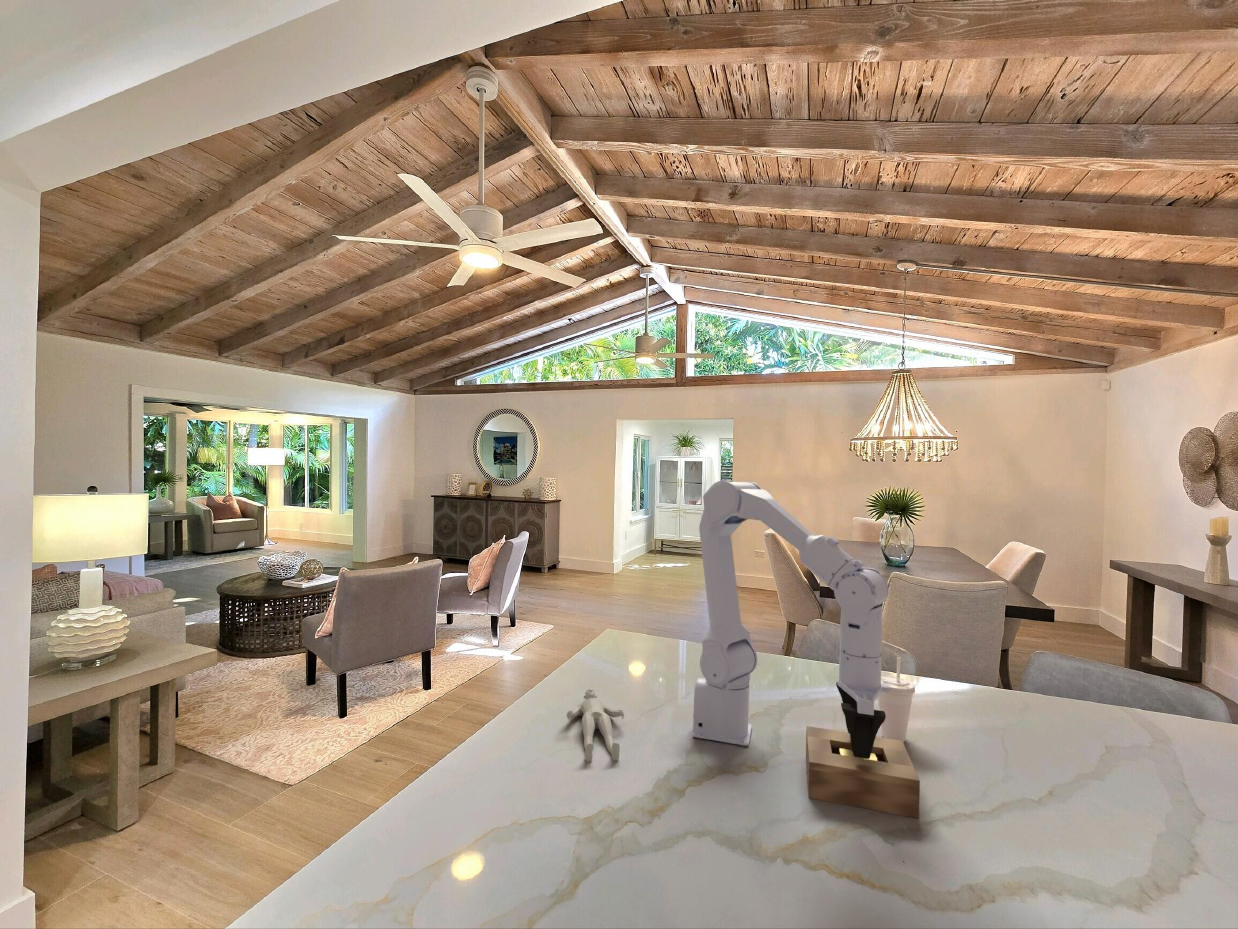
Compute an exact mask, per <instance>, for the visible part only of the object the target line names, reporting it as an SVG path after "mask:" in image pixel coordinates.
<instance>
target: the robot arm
mask: <svg viewBox="0 0 1238 929" xmlns="http://www.w3.org/2000/svg"><path fill="white" fill-rule="evenodd" d="M702 499H703V511H702V515H701V520H700V521H699V526H698V527H699V528H698V529H699V530H698V531H699V539H700V546H701V555H702V565H703V566H702V567H703V573H704V582H705V592H706V593H705V594H706V602H707V611H708V620H709V628H708V629H707V632H706V633H705V634H704V637H703V638H702V640H701V645H702V652H701V655H700V659H699V667H700V671H701V674H702V676H703V677H697V678H696V680H695V685H694V696H693V714H692V715H693V716H692V717H693V718H692V737H693V738H697V739H704V740H708V741H715V742H722V743H727V744H733V745H739V746H745V747H748V746H749V745H750V739H751V734H752V729H753V728H752V727H753V726H752V724H751V723H749V712H750V711H749V710H750V708H749V707H750V680H751V673H753V672H754V671H755V670H756V668H757V665H758V660H759V659H758V653H757V651H756V648H755V647H754V645H753V643H752V641H751V634H750V632H749V630H747V628H746V627H745V626H744V625H743V624H742V620H741V619H742V618H741V611H740V610H741V608H740V602H739V594H738V585H737V578H736V568H735V560H734V551H733V541H732V535H733V534H734V533H735V531H736V530H737V529H738V527H740V526H741V524H742V523H744V522H745V521H747V520H754V521H761V523H763V524H764V525H765V526H767V527H768V528H769V529H770V530H773V532H775V533H776V534H777V535H778V536H780V537H781V538H782V539H784V540H785V541H786V542H787V543H788V544H790V545H791V546H793V547H794V548H795V549H796V550H797V551H798V556H799V561H800V563H801V564H803V565H802V566H805V567H806V568H807V569H808V570H809V571H810V572H811V573H813V574H814V575H815V576H816V577H817V578H818V579H820V581H822V582H823V583H824V584H825V585H826V586H827V587H828V588H830V589H831V590H832V591H833V593H834V594H833V595H834V598H835V600H836V602H837V604H838V605H839V607H840V622H839V624H840V625H839V658H838V659H839V662H838V664H839V665H838V676H837V681H836V683H835V685H836V688H837V691H838V693H839V694H840V698H841V701H842V702H841V703H840V706H841V710H842V713H843V715H844V718H845V719H844V720H845V725H846V729H847V732H848V733H850V740H851V747H852V751H853V755H854V757H859V758H865V759H869V758H870V756H871V753H872V749H873V745H874V741H875V737H877V734H878V732H879V730H880V729H881V725H882V723H883V722H884V721H885V718H886V714H885V712H884V711H880V710H879V709H875V701H876V700H878V699H877V698H878V696H879V695H880V693H881V692H890V687H889V685H888V684H887V683H882V682H881V676H882V656H883V655H882V653H883V652H882V651H883V606H882V604H883V603H884V602H885V601H886V600H887V598H888V595H889V585H888V582H887V580H886V579H885V577H884V576H883V575H882V574H881V573H880V571H879V570H877V569H876V568H873V567H864V566H865V563H864V562H863V561H862V560H860V559H855V558H854V557H853V556H852V555H850V554H849V553H848V552H847V551H845V550H844V549H843V548H841V546H839V543H840V541H839V540H838V539H836V538H835V537H834V536H831V537H828V536H827V535H825V534H817V535H814V534H813V533H812V532H811V531H810V530H808V529H807V528H806V527H805V526H804V525H803V524H802V523H801V522H800V521H798V520H797V519H796V518H795V516H793V515H792V514H791V513H790V512H789V511H788V510H787V509H786V508H784V507H783V506H782V505H781V504H780V503H779V502H778V501H777V500H775V498H774V497H773V496H772V495H771V493H770V492H769V491H767V490H765V489H762V488H761V486H760V485H759V484H758V483H756V482H754V481H748V480H747V481H728V480H719V481H718V480H717V481H716V482H714V483H713V484H712V485H711V486H710V487H709V489H708V490H707V491H706V492H705V493H704V494H703V495H702Z"/></svg>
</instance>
